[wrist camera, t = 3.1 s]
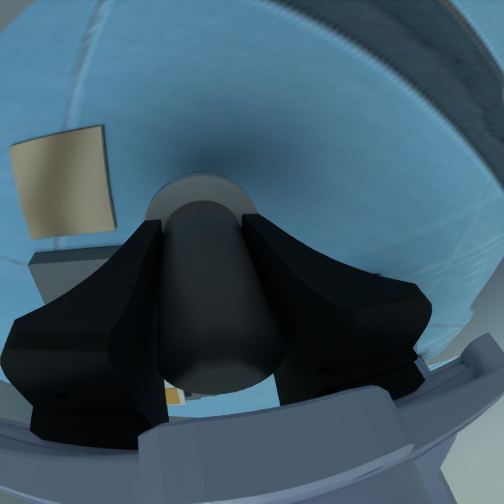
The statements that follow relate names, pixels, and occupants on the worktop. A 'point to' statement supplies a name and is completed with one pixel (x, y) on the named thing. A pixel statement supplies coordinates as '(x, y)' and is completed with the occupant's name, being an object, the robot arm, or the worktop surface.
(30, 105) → the worktop surface
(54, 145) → the pad
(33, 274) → the switch panel
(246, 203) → the dark round-ended cylinder
